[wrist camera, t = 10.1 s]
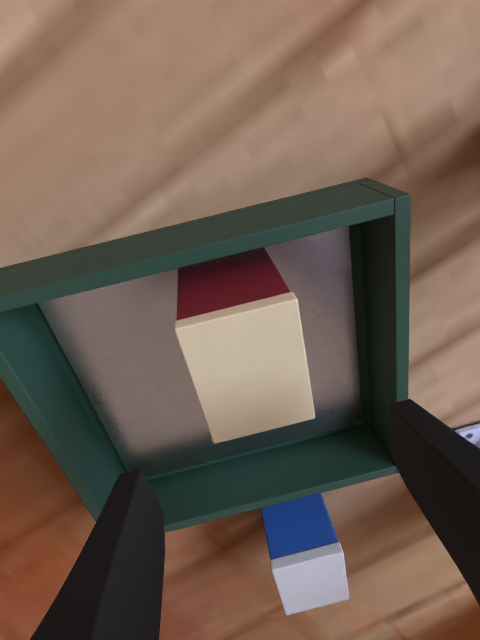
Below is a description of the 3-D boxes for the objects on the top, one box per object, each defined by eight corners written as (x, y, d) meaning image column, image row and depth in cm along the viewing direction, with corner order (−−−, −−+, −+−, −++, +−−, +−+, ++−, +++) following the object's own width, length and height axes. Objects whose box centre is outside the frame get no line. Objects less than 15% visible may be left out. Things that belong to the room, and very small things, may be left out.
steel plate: (345, 213, 17) (348, 214, 16) (360, 419, 23) (362, 422, 23) (34, 290, 17) (31, 293, 16) (133, 477, 23) (132, 481, 22)
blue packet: (312, 467, 25) (343, 552, 20) (320, 514, 28) (349, 599, 23) (254, 482, 25) (271, 570, 20) (267, 527, 28) (286, 616, 23)
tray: (366, 177, 17) (411, 194, 13) (377, 422, 24) (407, 471, 21) (-3, 268, 16) (-48, 307, 13) (121, 487, 24) (111, 547, 20)
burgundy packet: (264, 243, 17) (297, 298, 12) (282, 341, 19) (316, 418, 14) (176, 265, 17) (173, 329, 12) (205, 360, 19) (213, 444, 14)
